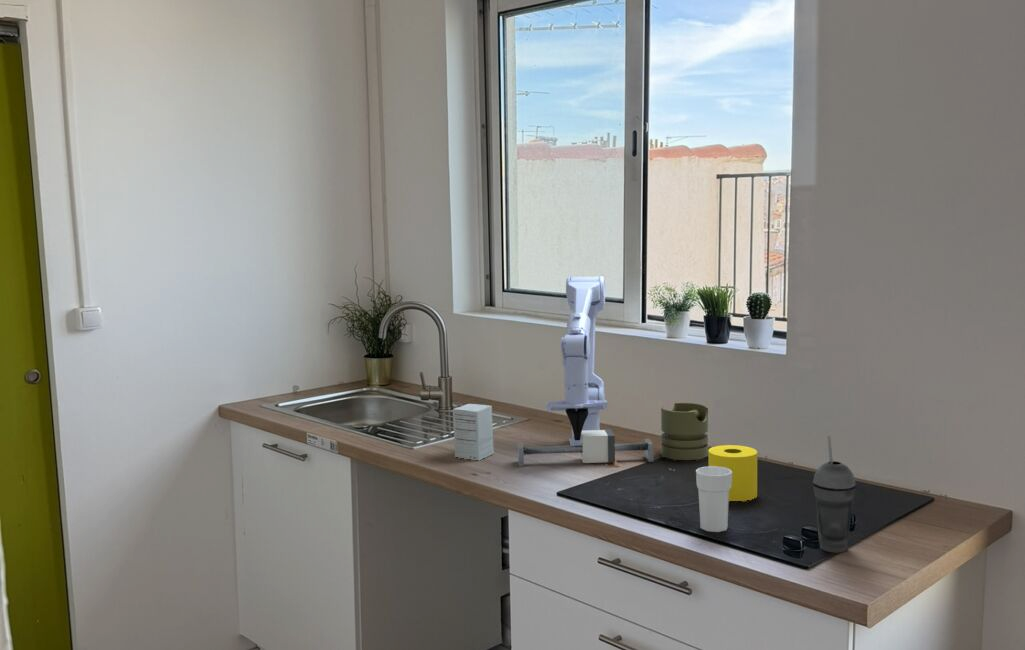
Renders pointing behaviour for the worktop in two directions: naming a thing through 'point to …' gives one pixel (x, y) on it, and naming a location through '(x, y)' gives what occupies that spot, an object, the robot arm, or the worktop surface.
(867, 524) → the worktop surface
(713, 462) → the yellow toilet paper roll
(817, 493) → the beverage cup
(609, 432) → the dark grey flat block
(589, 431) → the sleeve
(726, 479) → the cup
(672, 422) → the piston
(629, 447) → the pipe rig
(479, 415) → the supplement box
